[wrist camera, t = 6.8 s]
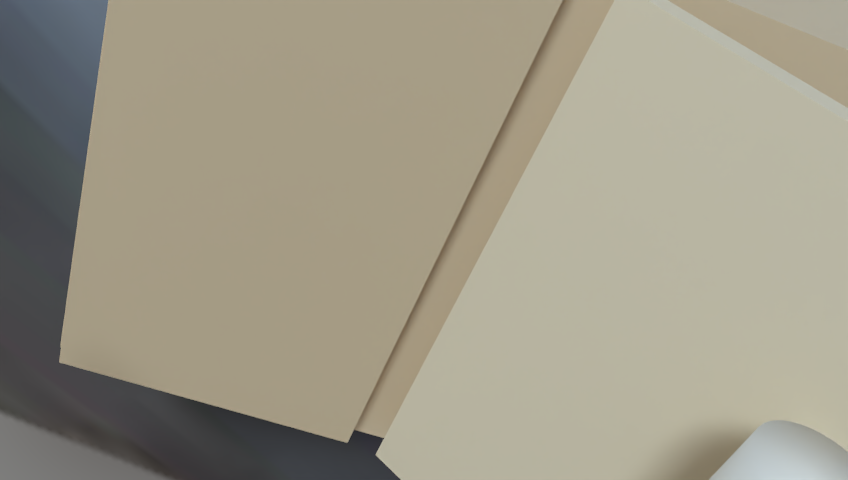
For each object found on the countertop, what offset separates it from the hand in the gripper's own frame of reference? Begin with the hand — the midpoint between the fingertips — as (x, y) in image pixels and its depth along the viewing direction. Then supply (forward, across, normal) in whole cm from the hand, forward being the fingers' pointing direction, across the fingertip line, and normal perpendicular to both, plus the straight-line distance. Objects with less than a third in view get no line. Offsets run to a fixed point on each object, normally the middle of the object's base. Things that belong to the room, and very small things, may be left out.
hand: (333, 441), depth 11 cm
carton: (+11, -2, 0) cm, 11 cm away
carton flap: (+3, -5, +1) cm, 6 cm away
